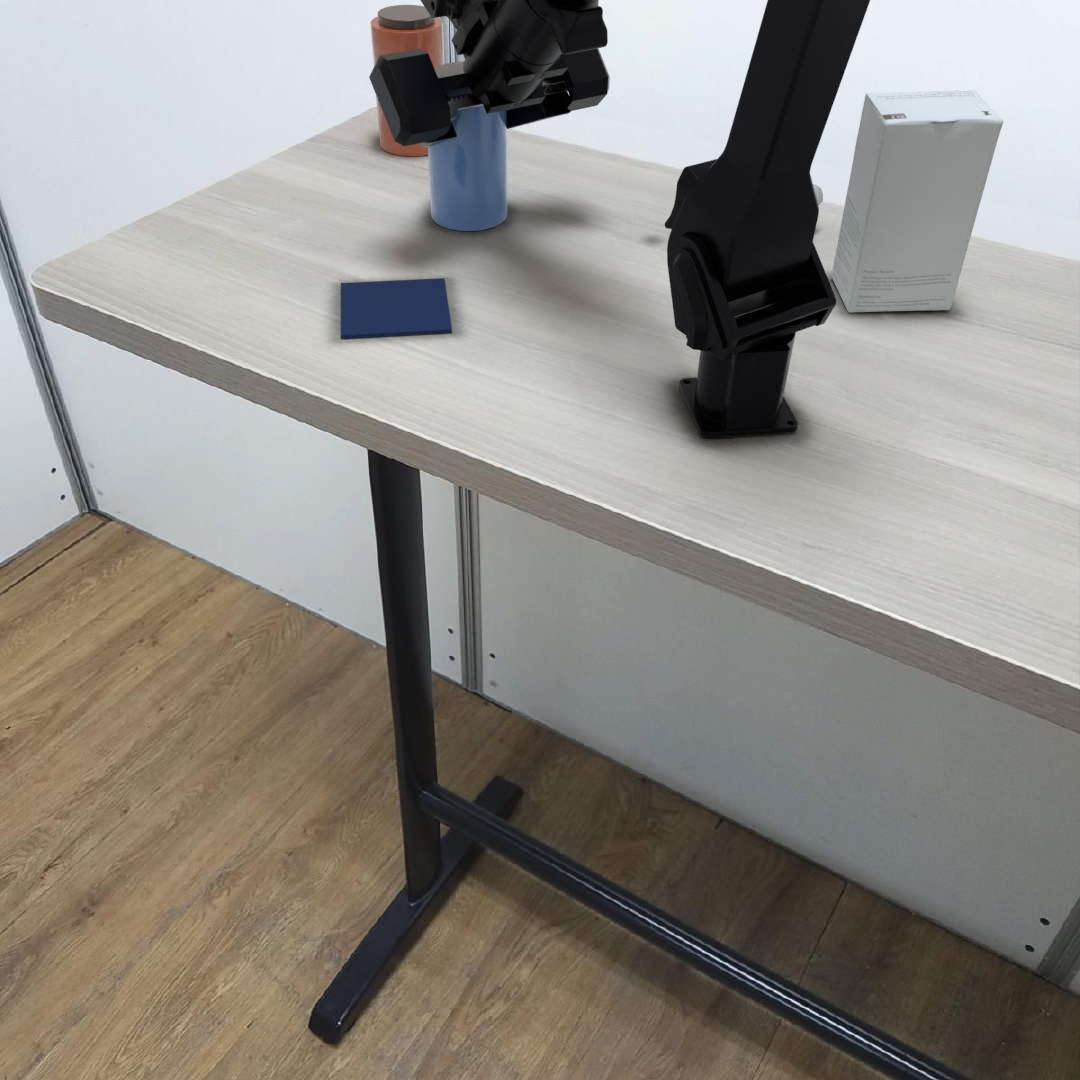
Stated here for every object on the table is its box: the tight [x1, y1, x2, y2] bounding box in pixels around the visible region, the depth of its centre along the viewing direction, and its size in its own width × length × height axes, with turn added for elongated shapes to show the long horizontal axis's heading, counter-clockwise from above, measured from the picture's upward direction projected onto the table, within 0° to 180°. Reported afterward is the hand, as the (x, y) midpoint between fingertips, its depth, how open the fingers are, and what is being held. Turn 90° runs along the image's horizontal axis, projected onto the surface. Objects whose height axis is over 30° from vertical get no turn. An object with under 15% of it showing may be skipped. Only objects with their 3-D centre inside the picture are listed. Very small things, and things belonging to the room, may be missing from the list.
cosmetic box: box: [831, 89, 1005, 313], centre depth 79 cm, size 8×6×15 cm
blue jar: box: [427, 61, 508, 232], centre depth 90 cm, size 7×7×12 cm
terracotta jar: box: [369, 4, 445, 157], centre depth 102 cm, size 7×7×12 cm
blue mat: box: [340, 277, 453, 340], centre depth 81 cm, size 8×8×1 cm
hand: (459, 133), depth 91 cm, fingers closed on blue jar, 6 cm apart
